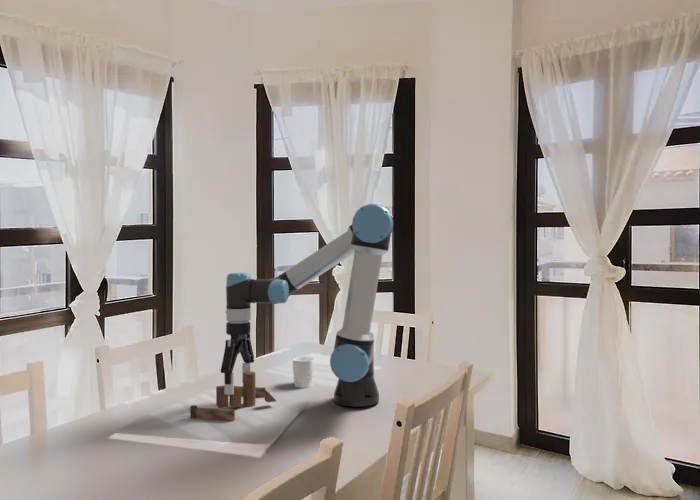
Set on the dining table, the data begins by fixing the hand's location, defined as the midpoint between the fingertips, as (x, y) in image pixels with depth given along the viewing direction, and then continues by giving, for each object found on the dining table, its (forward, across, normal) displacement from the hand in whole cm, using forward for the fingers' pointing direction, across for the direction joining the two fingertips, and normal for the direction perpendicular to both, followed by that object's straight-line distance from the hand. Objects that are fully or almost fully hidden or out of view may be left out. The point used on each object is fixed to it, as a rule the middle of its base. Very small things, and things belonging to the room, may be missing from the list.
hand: (238, 388), depth 164 cm
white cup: (+6, -28, +13) cm, 32 cm away
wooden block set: (+6, 0, +2) cm, 7 cm away
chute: (+6, 0, -2) cm, 6 cm away
